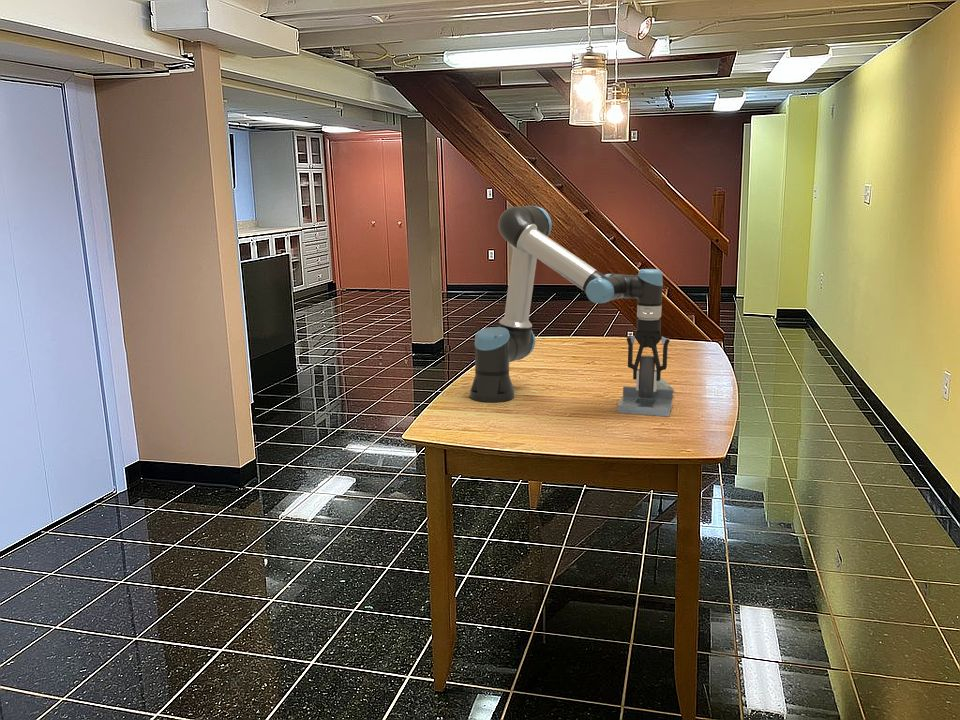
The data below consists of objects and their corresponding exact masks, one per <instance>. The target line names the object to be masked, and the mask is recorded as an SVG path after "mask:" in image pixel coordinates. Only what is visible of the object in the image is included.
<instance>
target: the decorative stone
mask: <svg viewBox="0 0 960 720" xmlns="http://www.w3.org/2000/svg"><path fill="white" fill-rule="evenodd" d="M657 388H659V389H673V394H674V393H675V389H674V387H673V386H671V385H670V384H669V383H668V382H667V381H666V380H664V379H663V378H662V377H661V378H660V381H657Z"/></svg>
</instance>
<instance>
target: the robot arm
mask: <svg viewBox="0 0 960 720" xmlns="http://www.w3.org/2000/svg"><path fill="white" fill-rule="evenodd" d="M552 224H553V223H552V219H551V217H550V215H549V214H548V212H547V211H546V210H545V209H544V208H542V207H540V206H536V205H535V206H534V205H521V206H511V207H508V208H507V209H505V210H504V211H503V212H502V213H501V214H500V217H499V219H498V226H497V228H498V231H499V235H501V237H502V238H503V239H504V240H505V241H506V242H507V243H508V244H509V247H511V249H512V255H511V262H510V268H509V269H510V271H509V278H508V285H507V286H508V287H507V294H506V303H505V310H504V316H503V317H502V318H501V319H500V320H499V322H498V326H492V327H484V328H482V329H479V330H478V331H477V332H476V333H475V337H474V377H473V381H472V384H471V388H470V389H469V390H470V391H469V392H470V393H469V397H470V399H471V400H474V401H477V402H484V403H500V402H507V401H508V402H509V401H510V400H513V399H514V398H515V389H514V386H513V383H512V380H511V376H510V363H512V362H516V361H520V360H522V359H524V358H526V357H528V356H529V355H531V353H532V352H533V350H534V348H535V346H536V336H535V334H534V332H533V330H532V329H533V324H532V323H531V321H530V320H529V319H530V312H531V305H532V297H533V291H534V284H535V276H536V269H537V260H538V261H541V263H542V264H544V265H546V266H547V267H549V268H550V269H551V270H553V271H554V272H556V273H558V274H559V275H560V276H562V277H563V278H564V279H566V280H567V281H569V283H572V284H573V285H575V286H576V287H577V288H579V289H581V290H582V291H584V293H585V294H586V297H587V298H588V300H589V301H591V302H592V303H594V304H605V303H608V302H611V301H616V300H619V299H633V300H635V299H636V300H637V301H636V302H637V305H636V307H637V308H636V311H637V312H636V317H637V318H636V332H635V334H634V335H632V336H630V335H629V336H627V337H626V342H627V344H628V345H627V346H628V347H627V348H628V349H627V368H629V369H631V370H633V371H632V373H633V374H632V379H633V380H635V385H636V386H635V387H636V390H639V366H640V357H641V356H643V352H644V349H646V348H649V349H651V350H652V354H653V355H652V356H654V360H655V371H654V388H653V391H654V392H656V390H657V381H660V378H662V377H661V372H662V371H664V370H667V367H668V366H667V365H668V347H669V343H670V341H671V340H670V338H669V337H667V338H666V337H664V336H663V334H662V333H661V328H662V319H661V317H662V310H663V309H662V308H663V307H662V306H663V303H662V300H663V287H664V281H663V279H664V278H663V272H662V270H660V269H655V268H645V269H644V268H642V269H639V270H638V274H623V273H622V274H619V273H606V274H603V273H602V272H600V271H598V270H597V269H595V268H594V267H593V266H591V265H590V264H588V263H587V262H586V261H584V260H582V259H581V258H580V257H578V256H577V255H575V254H573V253H572V252H571V251H569V250H568V249H566V248H565V247H563V246H562V245H560V244H559V243H557V242H556V241H555V240H553V239H552V238H551V237H549V235H550V233H551V231H552V226H553V225H552ZM635 340H636V342H637V343H638V345H639V347H638V351H637V354H636V357H635V362H634V363H633V358H634V357H633V355H634V354H633V353H634V343H635ZM660 341H661V344H662V345H663V346H662V364H661V361H660V356H659V352H658V347H657V345H659V343H660Z"/></svg>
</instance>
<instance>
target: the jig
mask: <svg viewBox="0 0 960 720" xmlns="http://www.w3.org/2000/svg"><path fill="white" fill-rule="evenodd" d="M673 389H674V388H673ZM673 389H659V388H657V390H656V392H654V397H653V398H641V397H639V390H636V386H628V385H623V387H622V397H621V399H620V401H619V402H618V404H617V414H627V415H629V414H630V415H631V414H632V415H640V416H641V415H643V416H654V415H655V416H656V417H667V418H668V417H670V416H671V415H670V414H671V412H672V408H673V402H674V401H673V397H674V396H673V395H674V393H673ZM655 416H654V417H655Z"/></svg>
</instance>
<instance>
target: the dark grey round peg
mask: <svg viewBox="0 0 960 720" xmlns="http://www.w3.org/2000/svg"><path fill="white" fill-rule="evenodd" d="M638 369H639V397H641V398H653V397H654V391H653V388H654V371H655V370H656V365H655V360H654V356H653V355H641V357H640V362H639V367H638Z"/></svg>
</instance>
